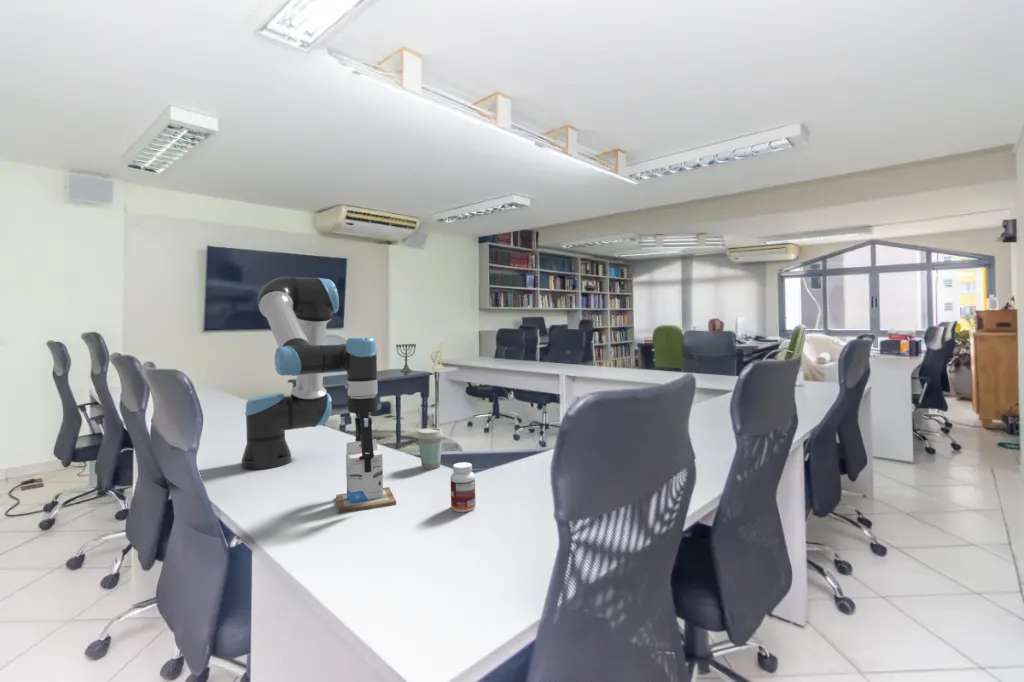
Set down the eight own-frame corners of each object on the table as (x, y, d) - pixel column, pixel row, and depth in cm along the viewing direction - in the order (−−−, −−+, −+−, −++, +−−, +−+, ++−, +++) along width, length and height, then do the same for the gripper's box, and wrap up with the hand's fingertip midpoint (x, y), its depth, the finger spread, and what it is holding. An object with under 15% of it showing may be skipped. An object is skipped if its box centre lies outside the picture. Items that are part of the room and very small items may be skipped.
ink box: (350, 504, 122) (349, 446, 121) (346, 498, 126) (344, 442, 126) (384, 497, 126) (382, 442, 126) (378, 491, 130) (377, 438, 130)
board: (336, 497, 129) (336, 494, 129) (389, 489, 134) (389, 486, 134) (338, 513, 118) (338, 509, 118) (396, 504, 123) (396, 500, 123)
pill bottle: (452, 503, 123) (451, 461, 123) (476, 503, 123) (475, 461, 123) (449, 513, 117) (448, 468, 117) (474, 512, 117) (473, 468, 117)
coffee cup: (441, 470, 152) (441, 432, 152) (415, 470, 152) (414, 433, 152) (446, 462, 161) (445, 427, 160) (420, 463, 161) (419, 427, 160)
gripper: (344, 391, 135) (346, 465, 136) (351, 404, 112) (354, 493, 113) (371, 389, 138) (373, 462, 139) (384, 401, 115) (386, 488, 116)
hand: (364, 476), depth 126 cm, fingers open, 13 cm apart
